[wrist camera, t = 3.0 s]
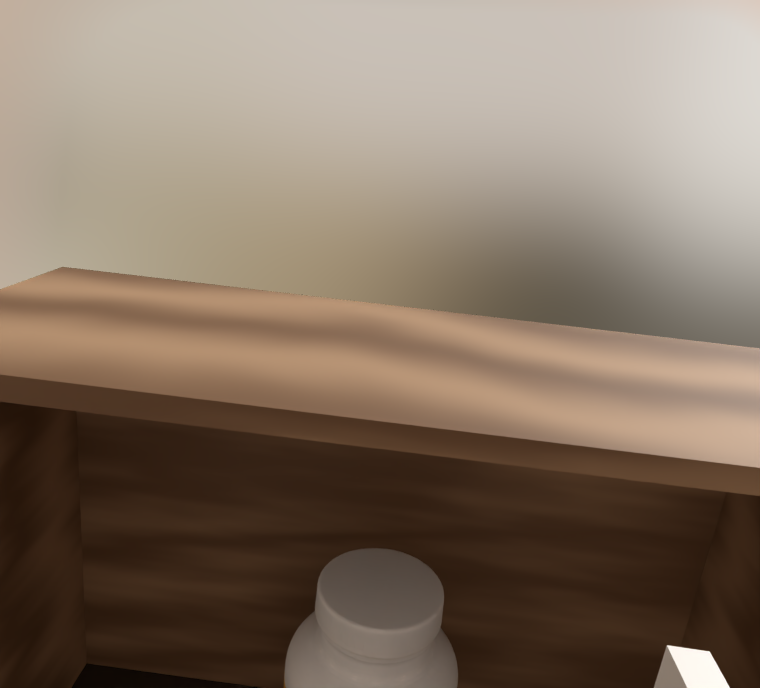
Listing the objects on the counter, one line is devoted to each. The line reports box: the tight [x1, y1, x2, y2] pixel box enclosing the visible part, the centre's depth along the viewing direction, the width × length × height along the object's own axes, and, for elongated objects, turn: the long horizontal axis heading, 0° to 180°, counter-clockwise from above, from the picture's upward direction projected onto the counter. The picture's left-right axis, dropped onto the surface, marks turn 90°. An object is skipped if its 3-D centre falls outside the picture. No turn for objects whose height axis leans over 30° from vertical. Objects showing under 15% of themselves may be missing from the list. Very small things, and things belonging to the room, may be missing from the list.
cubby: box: [0, 267, 760, 688], centre depth 27 cm, size 12×32×21 cm, turn 86°
